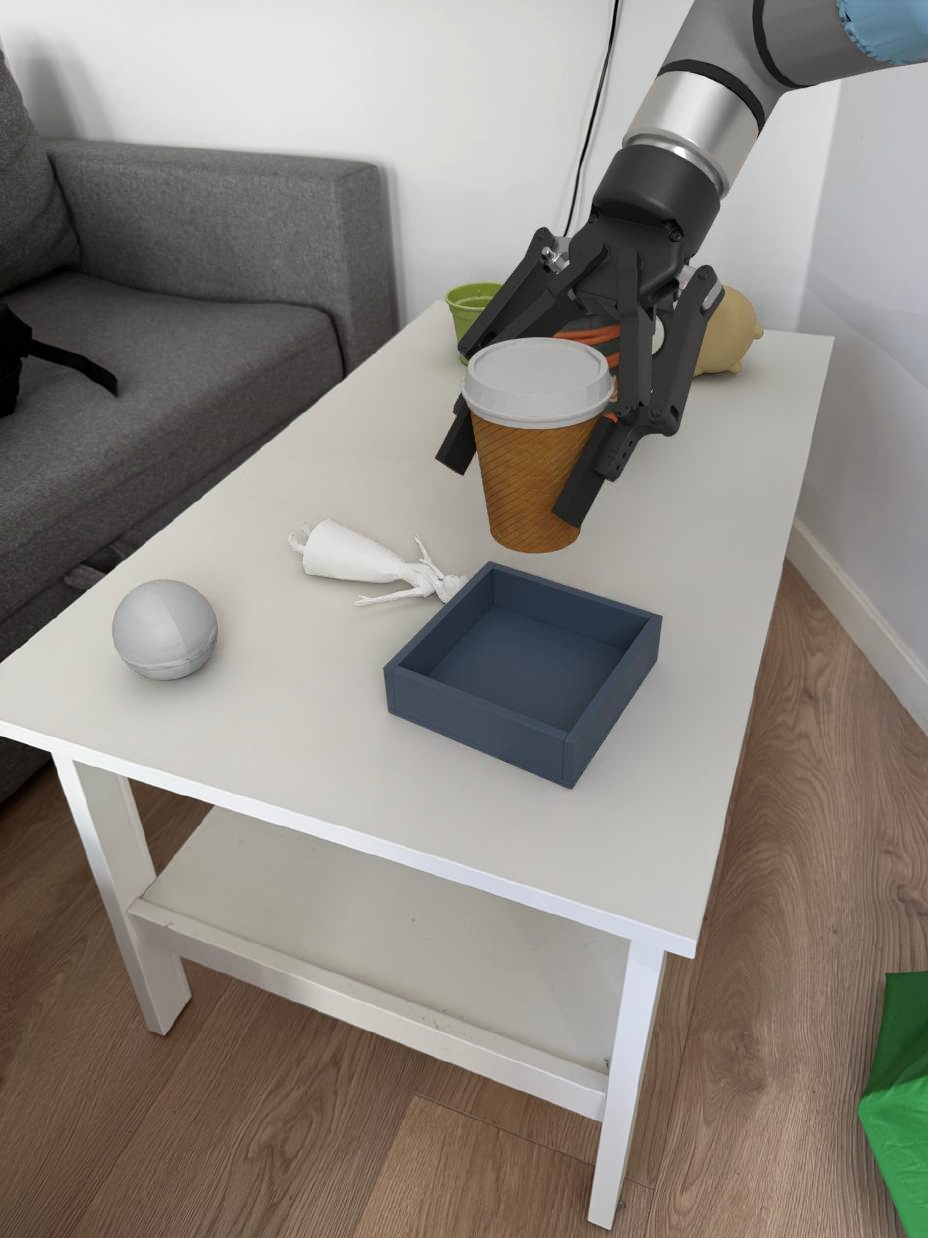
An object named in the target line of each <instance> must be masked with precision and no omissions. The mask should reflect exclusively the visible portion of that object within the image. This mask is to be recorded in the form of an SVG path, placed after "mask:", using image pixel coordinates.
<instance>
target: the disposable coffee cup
mask: <svg viewBox="0 0 928 1238" xmlns="http://www.w3.org/2000/svg"><path fill="white" fill-rule="evenodd" d="M614 387H615V384H614V379H613V377H612V376H611V375H610V373H609V368H608V363H607V360H606V358H605V357H604V356H603V355H602V354H601V353H600V352H599V351H597V350H596V349H594V348H592V347H590V346H588V345H585V344H582V343H579V342H575V341H570V340H566V339H557V338H541V337H534V338H521V339H513V340H508V341H503V342H500V343H496V344H493V345H490V346H488V347H486V348H484V349H482V350H480V351H479V352H477V353H476V354H475V355H474V356H473V357H472V358H471V359H470V361H469V364H468V365H467V368H466V374H465V375H464V376H463V378H462V379H461V382H460V392H461V391H462V395H463V397H464V398H465V400H466V402H467V405H468V407H469V408H470V411H471V418H472V424H473V428H474V435H475V442H476V446H477V448H476V449H477V451H476V453H477V459H478V466H479V471H480V477H481V482H482V483H481V484H482V487H483V489H482V490H483V494H484V501H485V507H486V513H487V518H488V524H489V525H488V526H489V531H490V536H491V537H492V538H493V540H494V541H495V542H496V543H498V544H499V545H500V546H502V547H504V548H506V549H508V550H510V551H514V552H518V553H522V554H530V555H531V554H533V555H535V554H537V555H538V554H539V555H540V554H548V553H553V552H557V551H560V550H563V549H566V548H568V547H569V546H571V545H572V544H574V543H575V542H576V540H577V539H578V538H579V536H580V535H581V531H582V525H583V524H582V525H581V526H580V528H579V529H578V528H576V527H573V526H571V525H569V524H568V523H567V522H565V521H564V520H562V519H561V518H560V517H558V516H557V515H555V514H554V513H553V512H551V510H552V508H553V507H554V505H555V503H556V501H557V499H558V497H559V495H560V493H561V491H562V490H563V488H564V486H565V484H566V482H567V480H568V478H569V476H570V474H571V473H572V471H573V469H574V467H575V465H576V463H577V461H578V459H579V457H580V456H581V454H582V452H583V450H584V448H585V446H586V444H587V442H588V440H589V439H590V437H591V435H592V433H593V431H594V429H595V427H596V425H597V423H598V422H599V420H600V418H601V416H602V415H604V409H605V407H606V406H607V405H608V402H609V399H610V398H611V396H612V395H613V392H614Z"/></svg>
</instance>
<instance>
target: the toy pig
mask: <svg viewBox="0 0 928 1238" xmlns="http://www.w3.org/2000/svg"><path fill="white" fill-rule="evenodd" d="M722 286H723V288H724V290H725V296H724V298H723V300H722V301H721V303H720V304H719V306H718V307H717V309H716V311H715V312H714V314H713V315H712V317H711V318H710V320H709V321H708V324H707V328H706V331H705V335H704V339H703V342H702V346H701V350H700V354H699V357H698V361H697V365H696V368H695V372H694V376H693V378H695V377H697V376H700V375H702V374H703V373H707V374H717V373H722V372H725V371H729V373H732V374H737V373H739V372H740V371H741V369H742V363H741V362H742V359H743V358H744V356H746V354H747V353H748V351H749V350H750V348H751V347H752V344H753V342H754V340H760V339H762V338H763V336H764V334H765V333H764V329H763V328H762V327H761V325H760V324H759V323H758V322H757V321H758V320H757V313H756V310H755V308H754V305H753V304H752V302H751V301H750V300H749V298H748V297H747V296H746V295H745V294H744V293H743V292H741V291H740V290H738V289H736V288H734V287H731V286H729V285H726V284H722Z"/></svg>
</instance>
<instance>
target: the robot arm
mask: <svg viewBox="0 0 928 1238" xmlns="http://www.w3.org/2000/svg"><path fill="white" fill-rule="evenodd" d="M925 63H928V0H693V2H692V4H691V6H690V8H689V10H688V12H687V13H686V16H685V18H684V20H683V21H682V24H681V26H680V28H679V30H678V32H677V34H676V36H675V38H674V40H673V42H672V44H671V46H670V48H669V50H668V52H667V54H666V56H665V58H664V60H663V62H662V64H661V65H660V68H659V70H658V72H657V73H656V77H654V80H653V82H652V83H651V85H650V87H649V88H648V91H647V92H646V94H645V96H644V97H643V100H642V101H641V104H640V105H639V107H638V109H637V111H636V112H635V114H634V116H633V118H632V120H631V122H630V124H629V125H628V127H627V129H626V131H625V133H624V135H623V137H622V140H621V148H620V149H618V150H617V151H616V153H614V155H613V158H612V159H611V161H610V163H609V165H608V167H607V169H606V171H605V173H604V175H603V176H602V179H601V180H600V182H599V184H598V186H597V188H596V190H595V191H594V194H593V196H592V199H591V204H590V211H589V216H588V218H587V221H586V222H585V223H584V225H583V226H582V227H581V228H580V229H579V230H578V231H577V232H575V233H574V234H573V236H572V237H568V236H561V235H559V236H558V235H554V234H553V233H552V232H551V231H550V229H549V228H548V226H547V227H546V226H541V227H539V228H538V229H536V230H535V232H534V233H533V235H532V238H531V241H530V242H529V245H528V247H527V249H526V252H525V254H524V257H523V258H522V260H521V261H520V262H519V263H518V265H517V266H516V267H515V269H514V270H513V271H512V272H511V274H510V275H509V276H508V278H507V279H506V280H505V281H504V282H503V283H502V284H503V285H502V287H501V288H500V289H499V291H498V292H497V293H496V295H495V296H494V297H493V298H492V300H491V301H490V302H489V304H488V305H487V306H486V307H485V309H484V310H483V311H482V313H481V314H480V315H479V317H478V318H477V319H476V320H475V322H474V323H473V324H472V326H471V327H470V328H469V329H468V331H467V332H466V333H465V335H464V336H463V337H462V339H461V340H460V341H459V343H458V342H457V347H456V349H457V352H460V353H461V354H462V355H463V356H464V357H465V358H466V359H467V360H468V361H470V359H471V358H472V357H473V356H474V355H475V354H476V353H477V352H479V351H480V350H482V349H484V348H486V347H488V346H490V345H493V344H496V343H500V342H503V341H508V340H513V339H521V338H534V337H541V338H552V337H553V336H554V335H555V334H557V333H558V332H559V331H560V330H561V329H562V328H563V327H565V326H566V325H567V324H568V323H569V322H570V321H577V320H579V319H581V318H582V317H583V316H584V315H586V314H587V313H588V312H592V313H595V314H609V315H611V316H612V317H614V318H615V319H617V320H620V340H619V364H618V388H617V408H616V410H617V412H616V411H615V410H614V409H612V413H613V414H614V416H615V417H616V418H617V419H618V420H617V421H616V423H615V422H614V420H613V419H611V418H608V417H605V416H603V415H602V416H601V418H600V420H599V422H598V423H597V425H596V427H595V429H594V431H593V433H592V435H591V437H590V439H589V440H588V442H587V444H586V446H585V448H584V450H583V452H582V454H581V456H580V457H579V459H578V461H577V463H576V465H575V467H574V469H573V471H572V473H571V474H570V476H569V478H568V480H567V482H566V484H565V486H564V488H563V490H562V491H561V493H560V495H559V497H558V499H557V501H556V503H555V505H554V507H553V508H552V510H551V512H553V513H554V514H555V515H557V516H558V517H560V518H561V519H562V520H564V521H565V522H567V523H568V524H569V525H571V526H573V527H576V528H578V529H579V528H580V526H581V525H583V523H584V521H585V519H586V517H587V515H588V513H589V511H590V510H591V509H592V506H593V504H594V502H595V500H596V498H597V496H598V494H599V492H600V491H601V490H602V487H603V485H604V484H605V481H608V482H611V483H615V481H617V480H618V479H619V478H620V477H621V475H622V473H623V472H624V469H625V467H626V466H627V464H628V462H629V460H630V458H631V456H632V454H633V453H634V451H635V449H636V447H637V445H638V443H639V442H640V440H641V439H642V438H644V437H645V436H649V435H661V434H662V436H663V437H666V438H670V437H674V436H675V435H676V434H677V433H679V429H680V427H681V424H682V420H683V416H684V413H685V409H686V405H687V401H688V398H689V394H690V391H691V387H692V383H693V380H694V377H695V376H694V372H695V368H696V365H697V361H698V357H699V354H700V350H701V346H702V342H703V339H704V335H705V331H706V328H707V324H708V321H709V320H710V318H711V317H712V315H713V314H714V312H715V311H716V309H717V307H718V306H719V304H720V303H721V301H722V300H723V298H724V296H725V290H724V288H723V286H722V285H723V284H722V282H721V280H720V278H719V276H718V275H717V273H716V271H715V269H714V267H713V266H712V265H710V264H703V265H701V266H698V267H697V268H696V267H694V266H691V265H690V262H691V259H692V258H694V257H695V256H696V255H697V253H698V252H699V251H700V248H701V247H702V245H703V243H704V241H705V239H706V237H707V235H708V234H709V231H710V230H711V228H712V226H713V224H714V222H715V220H716V218H717V216H718V215H719V213H720V211H721V201H723V200H724V199H725V198H727V196H728V194H729V193H730V190H731V189H732V187H733V185H734V183H735V182H736V179H737V178H738V176H739V174H740V172H741V170H742V168H743V167H744V165H745V162H746V161H747V159H748V157H749V155H750V153H751V152H752V149H753V148H754V147H755V145H756V142H757V141H758V139H759V137H760V135H761V133H762V131H763V129H764V127H765V125H766V123H767V122H768V121H769V118H770V117H771V115H772V113H773V111H774V109H775V107H776V105H777V104H778V102H779V100H780V99H781V97H782V96H783V95H785V94H786V93H789V92H793V91H798V90H801V89H808V88H812V87H816V86H819V85H820V84H824V83H829V82H833V81H838V80H842V79H846V78H851V77H855V76H859V75H864V74H867V73H873V72H877V71H882V70H887V69H892V68H898V67H906V66H912V65H919V64H925ZM567 262H568V265H566V266H564V265H565V264H566V263H567ZM558 273H559V274H558ZM556 274H558V275H556ZM571 288H572V291H573V293H574V295H575V297H576V298H575V299H572V298H570V296H569V295H568V291H569V290H570V289H571ZM677 289H679V290H678V298H679V300H678V301H676V304H675V307H674V314H673V318H672V321H671V325H670V329H669V332H668V336H667V340H666V343H665V347H664V350H663V354H662V358H661V361H660V365H659V369H658V372H657V376H656V380H655V383H654V387H653V390H652V391H651V369H652V354H653V337H654V336H655V335H656V333H657V332H656V330H657V316H656V304H657V303H658V302H660V301H661V300H663V299H664V298H666V297H667V296H669V295H670V294H672V293H673V292H675V291H676V290H677ZM546 290H547V291H546ZM545 291H546V292H545ZM544 292H545V293H544ZM460 353H459V354H460ZM693 376H694V377H693ZM651 393H652V394H651ZM452 414H454V415H455V418H454V420H453V422H452V424H451V426H450V427H449V429H448V432H447V433H446V435H445V437H444V439H443V442H442V443H441V445H440V447H439V449H438V450H437V453H436V455H435V456H434V460H436V461H438V462H439V463H440V464H442V465H444V466H445V467H446V468H448V469H449V470H451V471H453V472H454V473H456V474H458V475H460V476H461V477H464V476H465V474H466V472H467V470H468V468H469V466H470V465H471V463H472V461H473V459H474V457H475V455H476V453H477V449H476V448H477V446H476V442H475V435H474V428H473V424H472V418H471V411H470V408H469V407H468V405H467V402H466V400H465V398H464V397H463V395H462V391H461V390H460V393H459V395H458V398H457V399H456V401H455V402H454V404H453V409H452ZM581 527H582V526H581Z"/></svg>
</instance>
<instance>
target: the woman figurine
mask: <svg viewBox="0 0 928 1238" xmlns="http://www.w3.org/2000/svg"><path fill="white" fill-rule="evenodd" d="M301 531H302V532H303V533H302V535H303V536H304V537H305V538H307V540H306V542H305V545H304V544H301V543H299V541H298V540H297V538H296V537H295V536H294V532H291V534H289V536H288V543H289V549H290V550H292V551H294V552H296V553H299V554H300V555H302V557H303V559H302V562H301V563H302V564H301V565H302V566H303V569H304V571H305V573H306V575H310V576H317V577H324V578H330V579H335V580H342V581H349V582H350V581H351V582H360V583H361V582H363V583H371V584H372V583H374V584H389V583H393V582H395V581H398V580H403V581H405V582H406V583H408V584H409V585H411V586H412V587H413V588H410V589H405V590H404V589H403V590H399V591H396V592H392V593H388V594H386V595H380V596H377V597H369V596H366V595H357V596H358V598H362V599H360V600H359V599H358V600H354V601H353V604H352V606H354V607H359V608H360V607H364V606H368V605H371V604H376V603H381V602H387V601H397V600H400V599H405V598H412V597H422V598H426V597H429V596H430V595H433V594H434V593H436V595H437V596H438V598H439V600H440V601H441V602H442V603H444V604H445V605H446V604H447V603H448V602H449V601H450V600H451V599H452V598H453V597H454V596H455V595H456V594H457V593H458V592H459V591H460V590H461V589H462V587H463V586H464V585H465V584H466V583H467V582H468V581H469V580H470V579H471V578H470V577H468V576H467V575H465V574H460V576H458V575H456V574H446V575H445V574H444V573H443V572H442V571H441V570H439V568H438V567H437V566H436V564H435V563H434V561H433V559H432V557H431V555H430V554H429V553H428V551H427V549H426V547H425V546H424V544H423V542H422V540H421V538H420V536H419V535H418V534H417V533H415V535H414V534H413V538H414V541H415V542H416V543H417V546H418V547H419V550H420V551H421V553H422V557H423V558H418V561H420V562H421V563H415V562H408V561H407V560H405V558H404V557H403V556H402V555H399V554H397V553H396V552H394V551H393V550H391V549H389V548H387V547H385V546H383V545H381V544H380V543H378V542H377V541H375V540H374V539H373V540H372V539H371V538H369V537H368V536H366V535H365V534H363V533H361V532H359V531H358V530H356V529H353V528H351V527H350V526H347V525H345V524H343V523H341V522H339V521H337V520H336V519H333V518H327V519H324V520H323V521H321V522H320V523H318V524H316V526H315V528H314V529H313V530H311V529H310V527H309V525H308V523H307V521H304V522H303V523H302V524H301Z"/></svg>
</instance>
